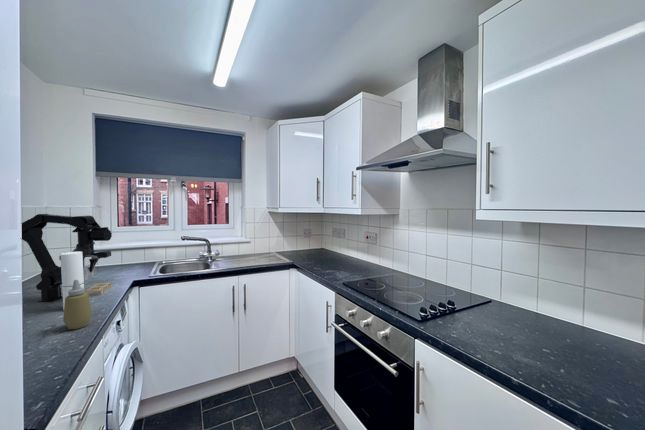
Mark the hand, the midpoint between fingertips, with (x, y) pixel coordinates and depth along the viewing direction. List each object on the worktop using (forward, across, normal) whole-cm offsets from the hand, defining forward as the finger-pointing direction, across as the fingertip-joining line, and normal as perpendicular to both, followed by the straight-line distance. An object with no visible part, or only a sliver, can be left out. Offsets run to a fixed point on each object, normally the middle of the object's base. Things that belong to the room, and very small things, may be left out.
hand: (87, 272), depth 131 cm
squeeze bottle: (+13, +12, -36) cm, 40 cm away
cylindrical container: (+13, 0, -13) cm, 18 cm away
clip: (+3, 0, 0) cm, 3 cm away
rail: (+13, 0, +11) cm, 17 cm away
